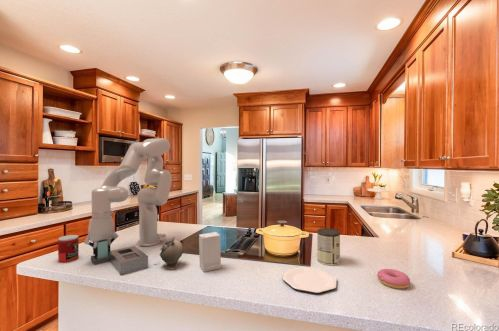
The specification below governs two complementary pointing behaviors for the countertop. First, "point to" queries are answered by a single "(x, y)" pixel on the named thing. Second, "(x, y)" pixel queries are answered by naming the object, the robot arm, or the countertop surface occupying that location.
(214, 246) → the skincare box
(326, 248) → the coffee can
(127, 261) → the port panel
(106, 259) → the tray
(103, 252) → the plug
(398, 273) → the doughnut
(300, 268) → the plate
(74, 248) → the canned food
